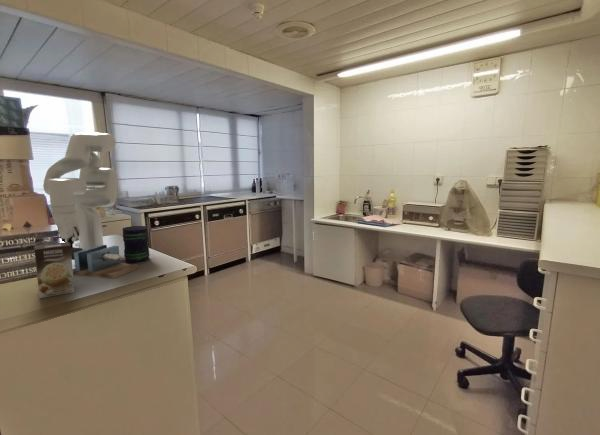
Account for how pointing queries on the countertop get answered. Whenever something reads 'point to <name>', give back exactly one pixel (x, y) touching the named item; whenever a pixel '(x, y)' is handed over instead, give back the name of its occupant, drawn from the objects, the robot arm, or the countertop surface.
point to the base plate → (109, 270)
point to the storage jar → (135, 244)
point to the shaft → (105, 256)
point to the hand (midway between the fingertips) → (68, 253)
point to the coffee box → (54, 269)
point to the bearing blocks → (95, 258)
